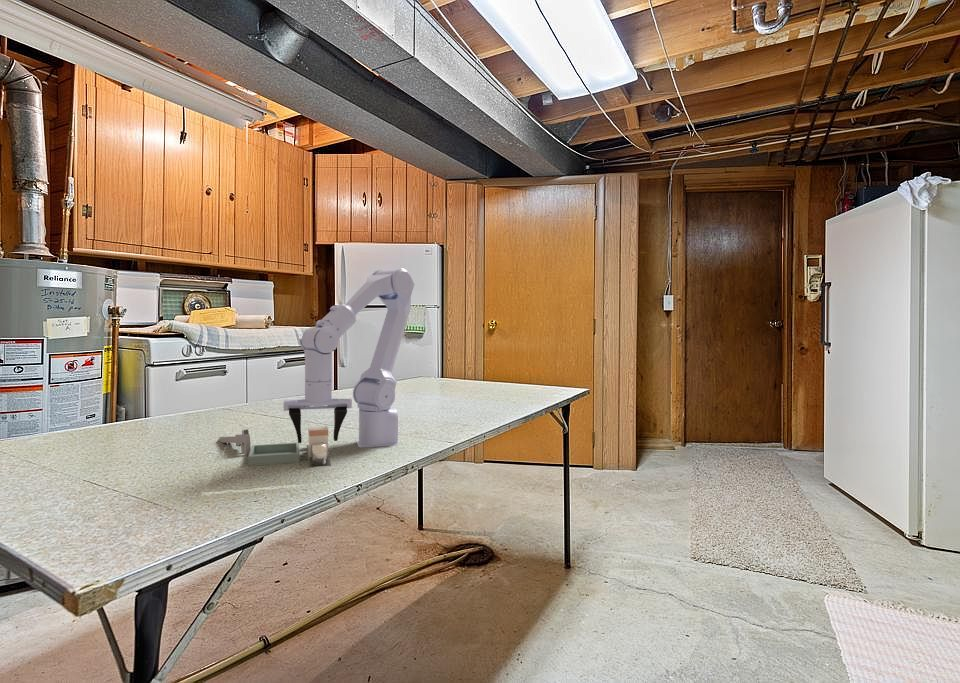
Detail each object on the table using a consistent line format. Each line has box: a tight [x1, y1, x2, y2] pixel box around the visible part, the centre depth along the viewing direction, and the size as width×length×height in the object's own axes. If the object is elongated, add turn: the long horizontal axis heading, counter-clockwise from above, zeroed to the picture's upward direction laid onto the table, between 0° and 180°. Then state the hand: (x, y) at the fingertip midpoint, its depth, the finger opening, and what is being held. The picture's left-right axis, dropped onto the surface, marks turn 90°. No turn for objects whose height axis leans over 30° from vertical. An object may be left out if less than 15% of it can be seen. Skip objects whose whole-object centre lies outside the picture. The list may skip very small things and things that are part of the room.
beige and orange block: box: [307, 425, 329, 457], centre depth 116 cm, size 4×4×6 cm
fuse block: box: [306, 443, 332, 468], centre depth 116 cm, size 4×19×4 cm, turn 20°
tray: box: [247, 442, 301, 467], centre depth 113 cm, size 10×10×2 cm
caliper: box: [217, 428, 252, 456], centre depth 122 cm, size 20×1×6 cm, turn 43°
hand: (317, 441), depth 116 cm, fingers open, 7 cm apart
